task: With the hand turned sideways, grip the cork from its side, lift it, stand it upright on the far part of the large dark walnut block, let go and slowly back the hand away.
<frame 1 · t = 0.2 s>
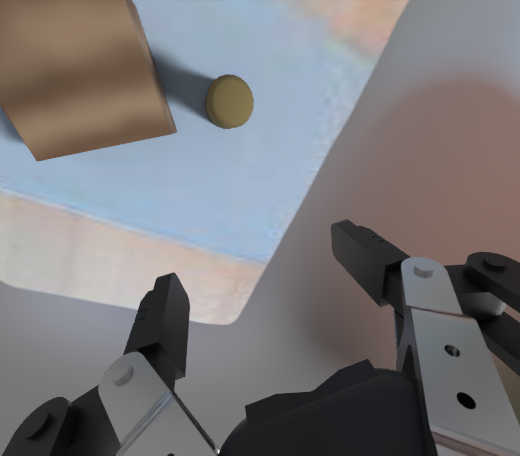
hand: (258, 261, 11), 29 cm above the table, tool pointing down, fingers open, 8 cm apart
cork: (225, 106, 33), on the table
walnut block: (98, 87, 29), on the table
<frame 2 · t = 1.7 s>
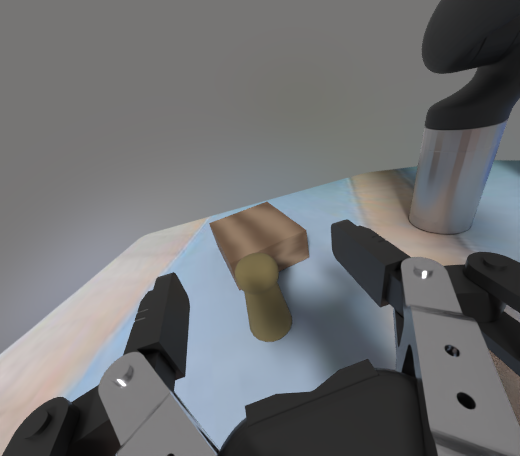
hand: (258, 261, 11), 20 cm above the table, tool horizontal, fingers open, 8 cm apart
cork: (270, 321, 30), on the table
walnut block: (258, 250, 45), on the table
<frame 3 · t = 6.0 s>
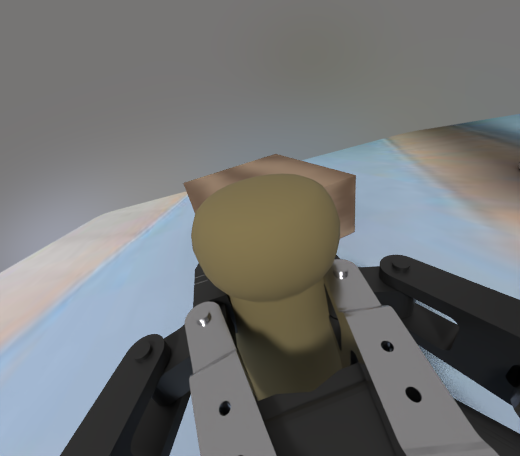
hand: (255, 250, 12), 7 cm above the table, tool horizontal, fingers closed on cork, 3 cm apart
cork: (294, 365, 13), on the table, touching gripper
walnut block: (262, 225, 27), on the table
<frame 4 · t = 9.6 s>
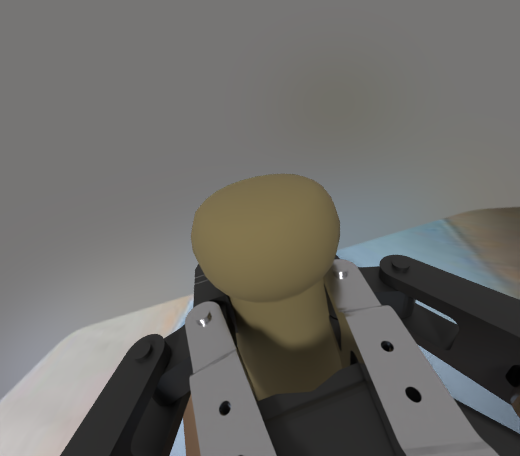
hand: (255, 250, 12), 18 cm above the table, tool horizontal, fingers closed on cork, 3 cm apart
cork: (295, 365, 13), point 11 cm above the table, touching gripper
when the fingers open (13 cm above the table, at t = 13.4 s): cork stays where it is, resting on walnut block.
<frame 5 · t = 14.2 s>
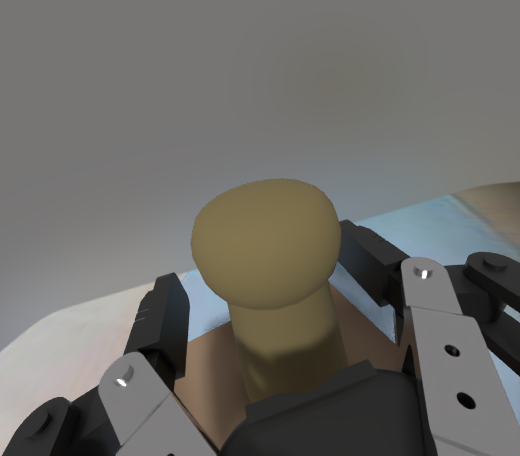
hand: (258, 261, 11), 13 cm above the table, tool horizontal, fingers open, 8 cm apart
cork: (295, 369, 13), point 6 cm above the table, touching walnut block
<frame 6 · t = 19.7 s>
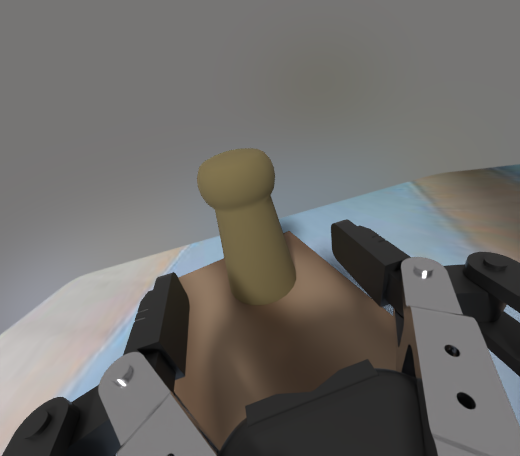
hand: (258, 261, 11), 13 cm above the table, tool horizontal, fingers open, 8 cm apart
cork: (263, 279, 19), point 6 cm above the table, touching walnut block
walnut block: (275, 350, 20), on the table
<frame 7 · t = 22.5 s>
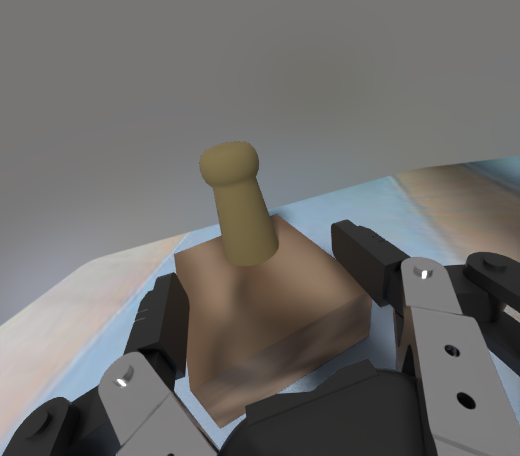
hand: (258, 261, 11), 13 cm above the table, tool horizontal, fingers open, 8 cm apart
cork: (252, 249, 24), point 6 cm above the table, touching walnut block
walnut block: (262, 307, 24), on the table
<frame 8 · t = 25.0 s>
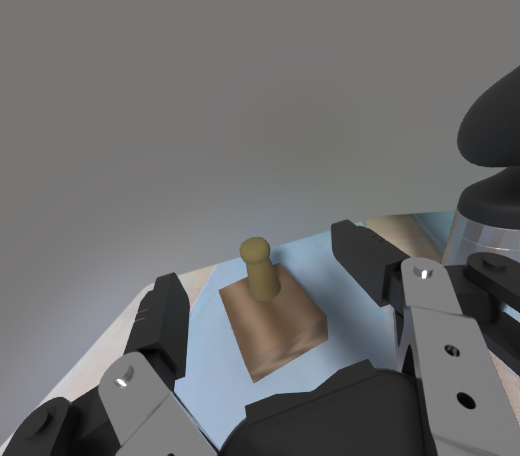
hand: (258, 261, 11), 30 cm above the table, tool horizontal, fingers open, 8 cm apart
cork: (265, 289, 42), point 6 cm above the table, touching walnut block
walnut block: (271, 322, 42), on the table
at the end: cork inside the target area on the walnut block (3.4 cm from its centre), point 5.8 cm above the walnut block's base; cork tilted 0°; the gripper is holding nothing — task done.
